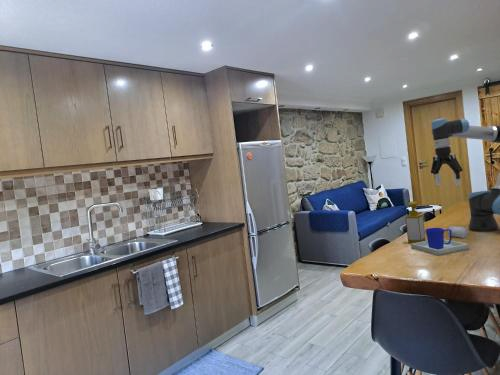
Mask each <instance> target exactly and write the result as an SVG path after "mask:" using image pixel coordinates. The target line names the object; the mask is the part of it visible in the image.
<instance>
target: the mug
mask: <svg viewBox="0 0 500 375" xmlns="http://www.w3.org/2000/svg"><path fill="white" fill-rule="evenodd" d="M448 231H450V236H449V239H448V240H449V242H448V243H444V239H445V236H444V235H445V232H448ZM425 236H426V241H428V245H429V248H433V249H442V248H443V246H444V244H450V242H451V241H452V231H451V230H450V229H448V228H447V229H444V228H442V227H430V228H425Z"/></svg>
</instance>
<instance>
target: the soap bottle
mask: <svg viewBox="0 0 500 375" xmlns="http://www.w3.org/2000/svg"><path fill="white" fill-rule="evenodd" d="M418 203H419V201H409V202H408V203H407V205H408V207H410V208H411V210H410V211H409V214H407V215H406V216H405V218H404V219H405V226H406V233H407V244H408V245H409V244H410V245H411V244H412V243H418V242H423V241H427V238H426V229H425V223H424V214H421V213H419V214H418V210H417V209H415V207H417V206H418Z"/></svg>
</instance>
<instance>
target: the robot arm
mask: <svg viewBox="0 0 500 375" xmlns="http://www.w3.org/2000/svg"><path fill="white" fill-rule="evenodd" d="M431 135H432V136H433V137H432V139H433V144H434V148H435V149H434V152H435V155H436V156H433V157H432V164H431V168H430V173H431V174H433V176H434V180H435V186H441V185H442V180H441V176H440V175H441V174H440V170H441V168H442V166H443V165H447V166H448V167H449V168H450V169H451V170H452V171H453V179H454V186H461V174H460V173H461V172H463V171H464V170H463V168H462V166H461V165H460V162H459V161H458V159H457V157H456V156H457V155H456V154H451V153H452V149H451V146H450V145H451V144H450V142H451V141H450V138H458V139H459V138H461V139H470V140H471V139H473V140H483V141H487V142H489V143H496V144H500V125H490V126H480V125H479V126H477V125H470V122H469V120H468V119H466V118H459V119H453V120H449V121H448V120H447V118H446V117H442V118H437V119H433V120H432V121H431ZM468 203H469V213H470V219H469V224H468V231H471V232H479V233H480V232H481V233H482V232H484V233H485V232H486V233H487V232H494V231H497V230H499V229H500V228H499V225H498V223H497V220H496V218H495V215H499V216H500V171H499V172H498V176H497V179H496V182H495V185H494V186H492V187H491V188H490V189H488V190H481V191H473V192H470V193H468Z"/></svg>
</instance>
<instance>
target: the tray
mask: <svg viewBox="0 0 500 375" xmlns="http://www.w3.org/2000/svg"><path fill="white" fill-rule="evenodd" d="M449 240H450V239H445V238H444V243H448V242H449ZM410 248H411V249H412V250H416V251H418V252H423V253H426V254H430V255H434V256H444V255H448V254H453V253H457V252H458V253H459V252H463V251H467V250H470V245H469V243H464V242H459V241H454V240H451V242H450V244H444V246H443V248H442V249H433V248H429V245H428V240H426V241H423V242H418V243H412V244H410Z"/></svg>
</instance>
